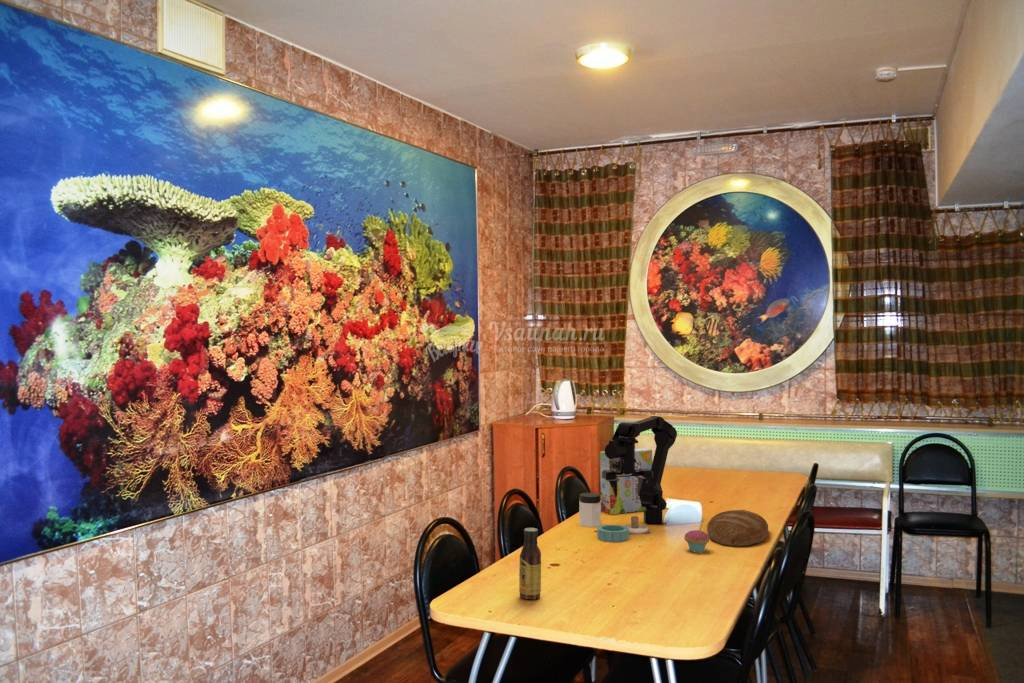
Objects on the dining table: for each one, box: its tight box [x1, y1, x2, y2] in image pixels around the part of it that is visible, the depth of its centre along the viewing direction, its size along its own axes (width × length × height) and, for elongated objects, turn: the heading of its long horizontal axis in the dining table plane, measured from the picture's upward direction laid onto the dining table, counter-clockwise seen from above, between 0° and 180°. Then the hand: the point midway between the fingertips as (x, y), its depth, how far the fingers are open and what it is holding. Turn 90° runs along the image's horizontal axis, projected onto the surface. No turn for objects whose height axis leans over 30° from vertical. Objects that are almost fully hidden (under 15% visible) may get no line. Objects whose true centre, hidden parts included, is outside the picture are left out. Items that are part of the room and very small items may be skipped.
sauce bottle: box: [518, 527, 542, 600], centre depth 245 cm, size 6×6×20 cm
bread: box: [706, 509, 769, 547], centre depth 319 cm, size 22×37×8 cm, turn 160°
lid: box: [623, 515, 649, 535], centre depth 323 cm, size 10×10×5 cm
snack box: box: [599, 447, 653, 515], centre depth 359 cm, size 22×9×26 cm, turn 115°
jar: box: [578, 492, 602, 528], centre depth 333 cm, size 9×8×12 cm
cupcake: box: [683, 517, 710, 553], centre depth 296 cm, size 9×8×12 cm
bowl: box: [596, 524, 630, 543], centre depth 312 cm, size 11×11×4 cm
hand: (627, 496), depth 324 cm, fingers open, 9 cm apart
